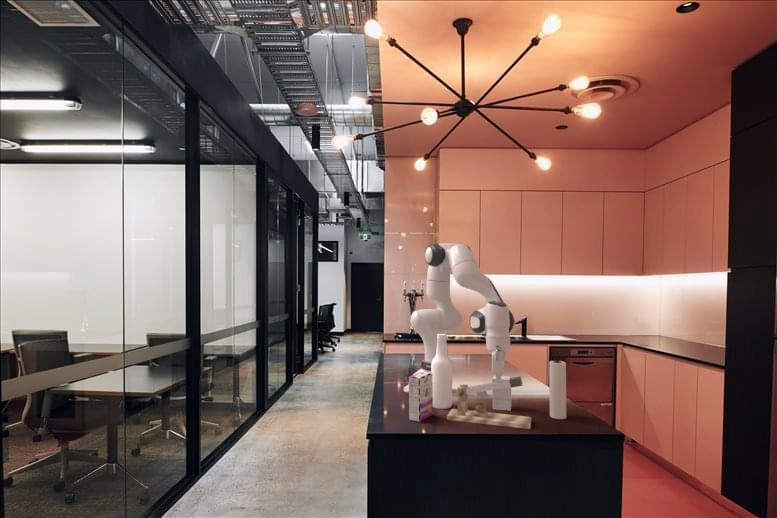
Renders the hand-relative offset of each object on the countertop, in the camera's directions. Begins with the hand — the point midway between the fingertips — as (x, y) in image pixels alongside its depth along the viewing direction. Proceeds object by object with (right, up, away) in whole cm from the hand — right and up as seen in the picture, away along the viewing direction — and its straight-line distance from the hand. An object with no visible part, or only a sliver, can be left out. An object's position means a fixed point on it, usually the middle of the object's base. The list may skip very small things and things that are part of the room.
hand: (498, 381), depth 169 cm
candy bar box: (-29, -15, +4) cm, 33 cm away
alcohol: (-19, -16, +19) cm, 31 cm away
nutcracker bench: (-4, -15, +1) cm, 15 cm away
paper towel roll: (+25, -15, +6) cm, 30 cm away
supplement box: (+6, -16, +18) cm, 24 cm away
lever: (-2, -6, +1) cm, 6 cm away
